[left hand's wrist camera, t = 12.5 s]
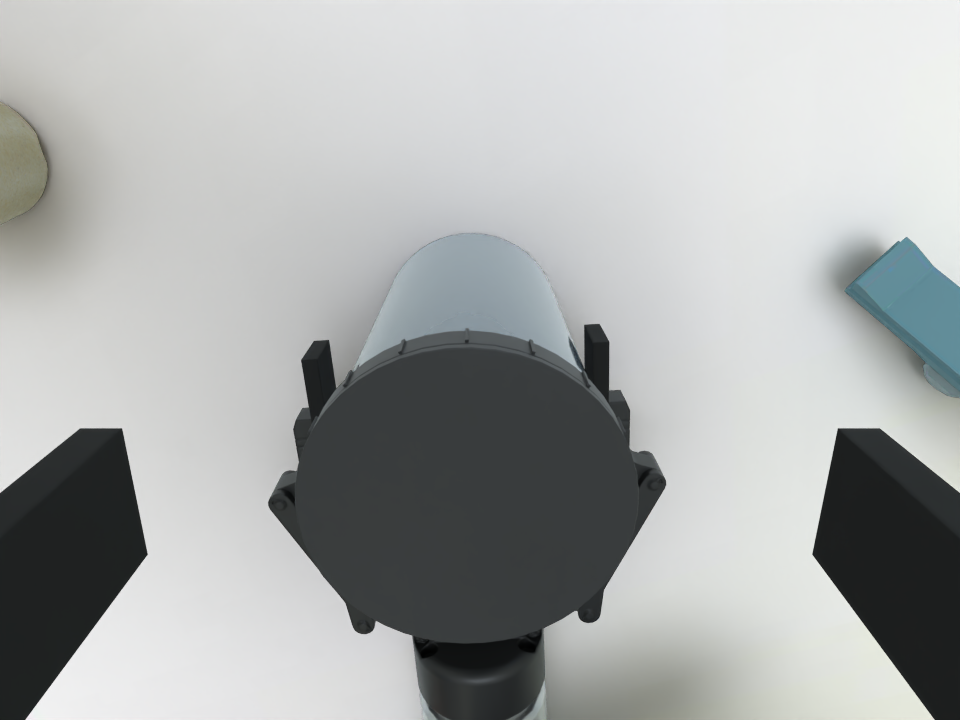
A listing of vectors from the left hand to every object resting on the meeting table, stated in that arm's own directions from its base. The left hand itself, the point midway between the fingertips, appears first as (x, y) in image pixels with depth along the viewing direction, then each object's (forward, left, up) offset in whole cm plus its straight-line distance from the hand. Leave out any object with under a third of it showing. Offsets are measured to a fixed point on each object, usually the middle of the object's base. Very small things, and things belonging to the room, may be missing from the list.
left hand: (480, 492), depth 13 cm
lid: (-2, -5, -7) cm, 9 cm away
